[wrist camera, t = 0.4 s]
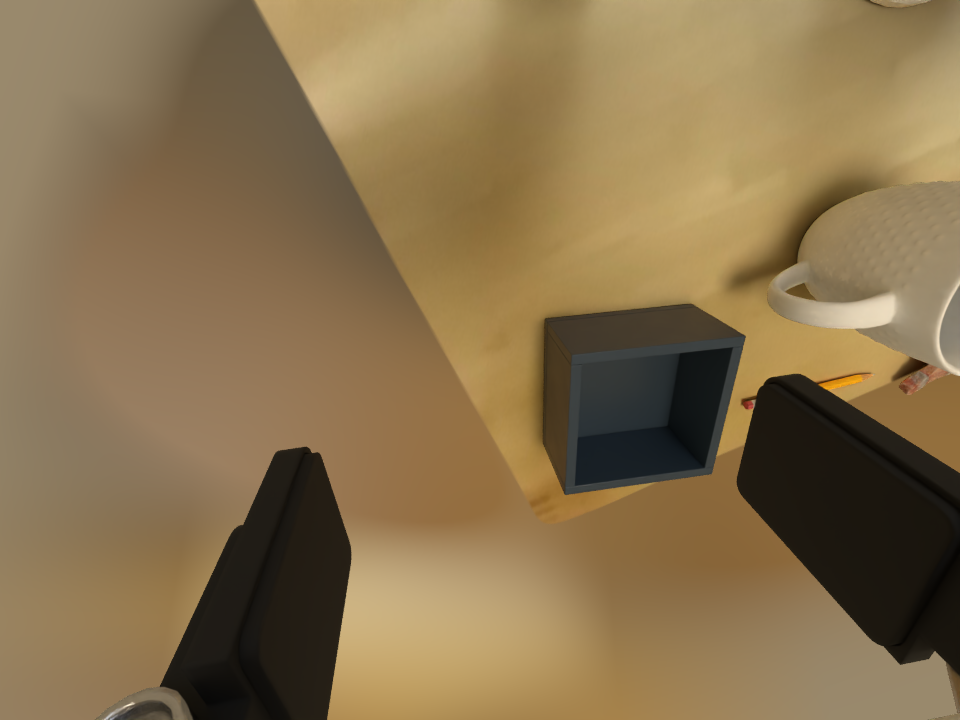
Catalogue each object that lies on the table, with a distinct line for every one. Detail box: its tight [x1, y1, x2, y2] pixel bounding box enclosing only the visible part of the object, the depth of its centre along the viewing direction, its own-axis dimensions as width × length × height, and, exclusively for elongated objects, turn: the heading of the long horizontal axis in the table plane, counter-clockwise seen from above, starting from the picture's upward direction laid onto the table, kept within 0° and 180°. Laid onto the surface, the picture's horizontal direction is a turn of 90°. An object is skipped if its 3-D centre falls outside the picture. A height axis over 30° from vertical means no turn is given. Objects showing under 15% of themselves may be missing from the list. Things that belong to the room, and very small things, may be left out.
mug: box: [767, 181, 960, 376], centre depth 30 cm, size 15×11×13 cm
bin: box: [543, 304, 746, 495], centre depth 36 cm, size 13×13×7 cm
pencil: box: [744, 374, 875, 409], centre depth 42 cm, size 1×13×1 cm, turn 100°
